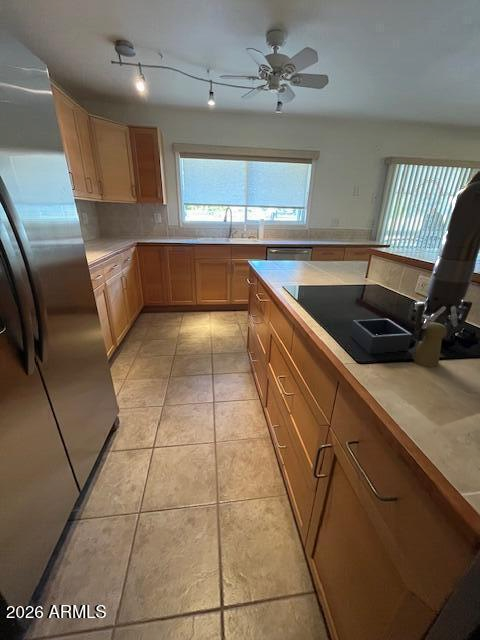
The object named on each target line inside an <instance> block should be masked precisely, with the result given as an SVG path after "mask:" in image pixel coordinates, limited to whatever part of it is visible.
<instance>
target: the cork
mask: <svg viewBox="0 0 480 640" xmlns="http://www.w3.org/2000/svg"><path fill="white" fill-rule="evenodd" d="M446 334H447V329H446V327H445V326H444V324H442V323H438V322H435V321H434V322H431V323H430V324H429V325H428V326H427V327H426V331H425V335H424V338H423V341H418V344H417V346H416V348H415V349H414V353H413V354H412V356H411V359H412V358H413V360H414V361H415V362H414V361H413V360H412V361H413V362H414V363H415V364H417V363H418V364H417V365H419V364H420V366H423V367H425V368H426V367H427V368H436V367H438V366H439V364H440V356H441V351H442V350H441V348H442V342H443V339H444V337H445V335H446Z"/></svg>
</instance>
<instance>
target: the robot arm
mask: <svg viewBox="0 0 480 640" xmlns="http://www.w3.org/2000/svg"><path fill="white" fill-rule="evenodd" d="M479 254H480V169H479V170H478V171H477V172H476V173H475V174H474V175H473V176H472V177H471V178H470V179H469V180H468V181H467V183H465V185H464V186H462V188H461V189H460V190H459V191H458V192H457V193H456V194H455V196H454V198H453V200H452V209H451V214H450V217H449V223H448V226H447V231H446V233H445V235H444V236H443V239H442V243H441V245H440V248H439V252H438V255H437V259H436V261H435V263H434V265H433V268H432V273H431V275H430V280H429V283H428V286H427V290H426V294H427V298H426V300H425V301H422V302H421V301H420V302H419V301H417V300H414V301H413V302H412V307H411V312H410V316H409V321H408V322H409V323H410V324H412V325H413V326H415V328H414V332H413V338H414V339H415V340H416V341H417V342H420V341H423V338H424V335H425V331H426V327H427V326H428V325H429V324H430V323H431V322H434V323H435V321H436V319H440V318H444V322H445V323H443V325H444V326H445V327H446V329H447V334H446V335H445V337H444V338H443V339H444V340H446V341H447V340H450V339H451V337H452V336H453V333H454V330H455V328H457V326H458V325H464V324H465V323H466V321H467V318H468V316H469V313H470V311H471V308H472V306H473V301H470V300H467V299H465V298H466V297H467V293H468V290H469V287H470V284H471V283H472V278H473V275H474V274H475V269H476V265H477V260H478V257H479Z"/></svg>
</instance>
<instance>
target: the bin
mask: <svg viewBox="0 0 480 640" xmlns="http://www.w3.org/2000/svg"><path fill="white" fill-rule="evenodd" d="M350 329H351V330H350V335H349V336H350V337H351V339H353V340H354V341H355V342H356V343H357V344H358V345H359V346H360V347H361V348H363V350H365V351H366V352H367V354H368V355H377V354H378V355H379V353H380V354H386V353H385V352H394V353H399V352H398V351H409V348H410V344H411V340H412V338H413V337H412V336H413V334H412V333H411V332H409V331H408V330H406V329H404V328H403V327H401V326H400V325H398V324H397V323H395V322H394V321H392V320H390V319H389V318H387V317H386V318H372V319H369V318H368V319H355V320H354V319H353V320H352V322H351V328H350ZM378 333H382V334H383V335H376V334H378ZM374 335H376V336H374Z"/></svg>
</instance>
